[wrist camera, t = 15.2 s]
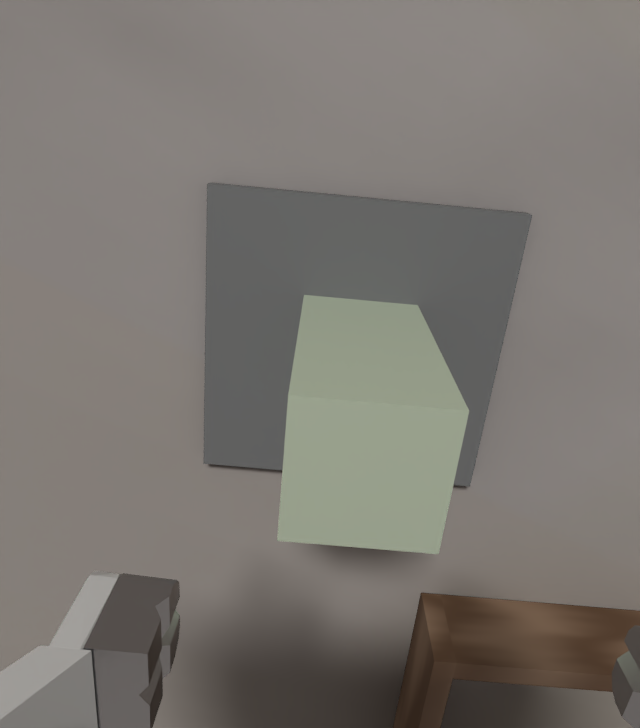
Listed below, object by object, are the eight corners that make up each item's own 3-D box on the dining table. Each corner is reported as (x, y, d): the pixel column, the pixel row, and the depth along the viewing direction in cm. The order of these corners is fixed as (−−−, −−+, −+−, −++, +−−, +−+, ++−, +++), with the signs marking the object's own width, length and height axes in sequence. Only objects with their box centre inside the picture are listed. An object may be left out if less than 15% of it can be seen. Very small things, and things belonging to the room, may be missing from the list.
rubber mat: (526, 212, 22) (532, 215, 21) (466, 478, 26) (469, 486, 26) (210, 182, 21) (207, 184, 21) (206, 456, 26) (203, 463, 25)
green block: (418, 305, 22) (469, 410, 14) (401, 406, 24) (438, 553, 16) (304, 294, 22) (288, 394, 14) (295, 397, 24) (277, 540, 16)
